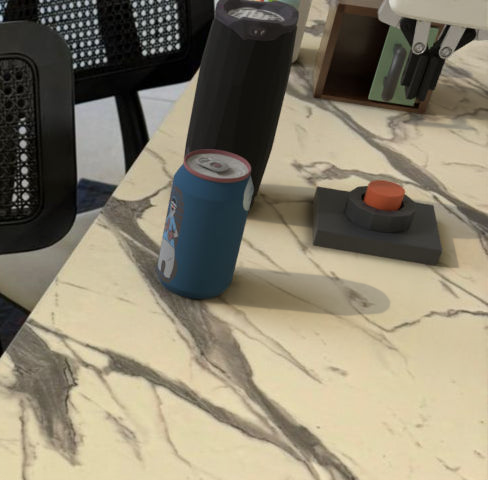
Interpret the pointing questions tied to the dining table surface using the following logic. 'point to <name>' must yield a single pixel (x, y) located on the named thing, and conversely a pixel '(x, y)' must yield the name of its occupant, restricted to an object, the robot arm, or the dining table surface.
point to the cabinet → (355, 55)
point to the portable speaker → (243, 81)
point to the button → (384, 195)
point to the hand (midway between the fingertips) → (413, 94)
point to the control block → (375, 227)
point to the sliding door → (394, 67)
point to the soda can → (205, 223)
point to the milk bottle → (302, 4)
